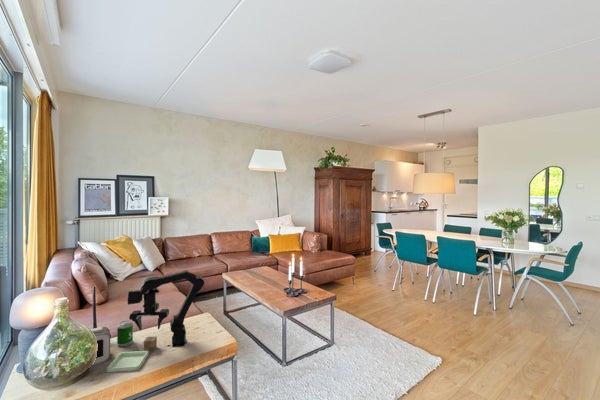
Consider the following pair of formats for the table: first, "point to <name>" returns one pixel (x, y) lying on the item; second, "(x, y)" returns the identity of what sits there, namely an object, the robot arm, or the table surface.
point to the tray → (128, 361)
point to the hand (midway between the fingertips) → (149, 329)
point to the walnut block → (150, 344)
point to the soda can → (124, 333)
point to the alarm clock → (102, 344)
